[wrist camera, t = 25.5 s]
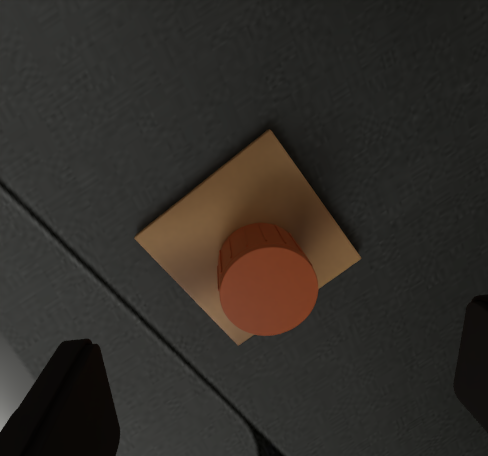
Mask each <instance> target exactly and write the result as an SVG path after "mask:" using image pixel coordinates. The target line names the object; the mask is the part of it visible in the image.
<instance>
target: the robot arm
mask: <svg viewBox="0 0 488 456" xmlns="http://www.w3.org/2000/svg"><path fill="white" fill-rule="evenodd" d="M454 391H455V394H456V396H457V398H458V399H459V400H460V402H461V403H462V404H463V405H464V406H465V407H466V409H467V410H468V411H469V412H470V413H471V414H472V415H473V417H474V418H475V419H476V420H477V421H478V422H479V424H480V425H481V426H482V427H483V428H484V429H485V430H486V432H487V433H488V295H479V296H476V297H474V298H473V299H472V301H471V303H469V304H468V305H467V308H466V314H465V320H464V326H463V332H462V337H461V343H460V349H459V355H458V361H457V367H456V372H455V378H454ZM119 440H120V427H119V423H118V419H117V415H116V410H115V406H114V402H113V398H112V394H111V390H110V386H109V382H108V378H107V374H106V370H105V366H104V362H103V358H102V354H101V350H100V347H99V345H98V344H92V342H91V340H90V339H80V340H71V341H64V342H62V343H61V344H60V345H59V347H58V348H57V350H56V351H55V353H54V354H53V356H52V357H51V359H50V360H49V362H48V363H47V365H46V366H45V368H44V369H43V371H42V372H41V374H40V376H39V377H38V379H37V380H36V382H35V383H34V385H33V386H32V388H31V389H30V391H29V392H28V394H27V395H26V397H25V398H24V400H23V401H22V403H21V404H20V406H19V407H18V409H17V410H16V411H15V412H14V413H13V414H12V416H11V417H10V418H9V420H8V421H7V423H6V424H5V426H4V427H3V429H2V430H1V432H0V456H116V452H117V449H118V445H119Z"/></svg>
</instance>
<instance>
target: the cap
mask: <svg viewBox="0 0 488 456" xmlns="http://www.w3.org/2000/svg"><path fill="white" fill-rule="evenodd" d="M217 281H218V291H219V294H220V303H221V306H222V309H223V311H224V313H225V315H226V316H227V318H228V319H229V320H230V321H231V322H232V323H233V324H234V325H235V326H236V327H238V328H239V329H241V330H243V331H245V332H248V333H251V334H255V335H262V336H269V335H276V334H281V333H284V332H286V331H289V330H291V329H293V328H294V327H296V326H297V325H299V324H300V323H301V322H302V321H304V320H305V319H306V317H307V316H308V315H309V314H310V312H311V311H312V309H313V307H314V305H315V303H316V300H317V296H318V280H317V276H316V273H315V271H314V269H313V265H312V264H311V262H310V261H309V259H308V258H307V256H306V255H305V253H304V252H303V251H302V249H301V248H300V246H299V245H298V244H297V243H296V241H295V240H294V238H293V237H292V235H291V234H290V233H288V232H287V231H285V230H284V229H282V228H281V227H279V226H277V225H273V224H269V223H254V224H249V225H246V226H243V227H241V228H239V229H238V230H236V231H235V232H233V233H232V234H231V235H230V236H228V238H227V239H226V241H225V242H224V244H223V246H222V248H221V250H219V258H218V266H217Z"/></svg>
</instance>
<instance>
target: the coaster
mask: <svg viewBox="0 0 488 456" xmlns="http://www.w3.org/2000/svg"><path fill="white" fill-rule="evenodd" d="M254 223H269V224H273V225H277V226H279V227H281V228H282V229H284V230H285V231H287V232H288V233H290V234H291V235H292V237H293V238H294V240H295V241H296V243H297V244H298V245H299V246H300V248H301V249H302V251H303V252H304V253H305V255H306V256H307V258H308V259H309V261H310V262H311V264H312V265H313V269H314V271H315V273H316V276H317V280H318V289H319V288H320V287H322V286H323V285H325V284H326V283H328V282H329V281H330V280H332V279H333V278H335V277H336V276H337V275H339V274H340V273H342V272H343V271H345V270H346V269H347V268H349V267H350V266H352V265H353V264H354V263H356V262H357V261H359V260H360V259H361V257H360V255H359V254H358V252H357V251H356V250H355V248H354V247H353V245H352V244H351V242H350V241H349V240H348V238H347V237H346V235H345V234H344V233H343V231H342V230H341V228H340V227H339V226H338V224H337V223H336V221H335V220H334V218H333V217H332V216H331V214H330V213H329V211H328V210H327V209H326V207H325V206H324V204H323V203H322V201H321V200H320V199H319V197H318V196H317V194H316V193H315V192H314V190H313V189H312V187H311V186H310V185H309V183H308V182H307V180H306V179H305V177H304V176H303V175H302V173H301V172H300V170H299V169H298V168H297V166H296V165H295V163H294V162H293V160H292V159H291V158H290V156H289V155H288V153H287V152H286V151H285V149H284V148H283V146H282V145H281V144H280V142H279V141H278V139H277V138H276V136H275V135H274V134H273V132H272V131H271V130H270V129H268V130H267V131H265V132H264V133H263V134H262V135H260V136H259V137H258V138H257V139H255V140H254V141H253V142H252V143H250V144H249V145H248V146H247V147H245V148H244V149H243V150H242V151H240V152H239V153H238V154H237V155H235V156H234V157H233V158H232V159H230V160H229V161H228V162H227V163H225V164H224V165H223V166H222V167H220V168H219V169H218V170H217V171H215V172H214V173H213V174H211V175H210V176H209V177H208V178H206V179H205V180H204V181H203V182H201V183H200V184H199V185H198V186H196V187H195V188H194V189H193V190H191V191H190V192H189V193H188V194H186V195H185V196H184V197H183V198H181V199H180V200H179V201H178V202H176V203H175V204H174V205H173V206H171V207H170V208H169V209H168V210H166V211H165V212H164V213H163V214H161V215H160V216H159V217H158V218H156V219H155V220H154V221H153V222H151V223H150V224H149V225H148V226H146V227H145V228H144V229H143V230H141V231H140V232H139V233H137V234H136V236H135V237H134V238H135V240H136V241H137V242H138V243H139V244H140V245H141V246H142V247H143V248H144V249H145V250H146V251H147V252H148V253H149V254H150V255H151V256H152V257H153V258H154V259H155V260H156V261H157V262H158V263H159V264H160V265H161V266H162V267H163V269H164V270H165V271H166V272H167V273H168V274H169V275H170V276H171V277H172V278H173V279H174V280H175V281H176V282H177V283H178V284H179V285H180V286H181V287H182V288H183V289H184V290H185V291H186V292H187V293H188V294H189V295H190V296H191V297H192V298H193V299H194V300H195V302H196V303H197V304H198V305H199V306H200V307H201V308H202V309H203V310H204V311H205V312H206V313H207V314H208V315H209V316H210V317H211V318H212V319H213V320H214V321H215V322H216V323H217V324H218V325H219V326H220V327H221V328H222V329H223V330H224V331H225V332H226V333H227V335H228V336H229V337H230V338H231V339H232V340H233V341H234V342H235V343H236V344H237V345H240V344H241V343H243V342H244V341H246V340H247V339H248V338H250V337H251V336H253V335H254V334H251V333H248V332H245V331H243V330H241V329H239V328H238V327H236V326H235V325H234V324H233V323H232V322H231V321H230V320H229V319H228V318H227V316H226V315H225V313H224V311H223V309H222V306H221V303H220V294H219V291H218V281H217V266H218V258H219V250H221V248H222V246H223V244H224V242H225V241H226V239H227V238H228V236H230V235H231V234H232V233H233V232H235V231H236V230H238V229H239V228H241V227H243V226H246V225H249V224H254Z"/></svg>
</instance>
